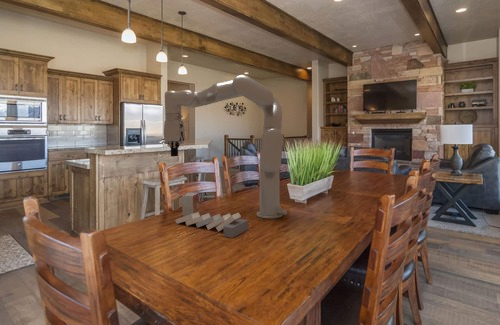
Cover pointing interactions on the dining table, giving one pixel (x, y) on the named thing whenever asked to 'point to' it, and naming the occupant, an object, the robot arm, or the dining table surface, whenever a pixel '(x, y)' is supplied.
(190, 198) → the small box
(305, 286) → the dining table surface
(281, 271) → the dining table surface
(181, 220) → the end tile
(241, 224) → the end block
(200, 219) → the tile
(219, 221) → the tile
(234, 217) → the tile
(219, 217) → the tile
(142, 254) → the dining table surface
